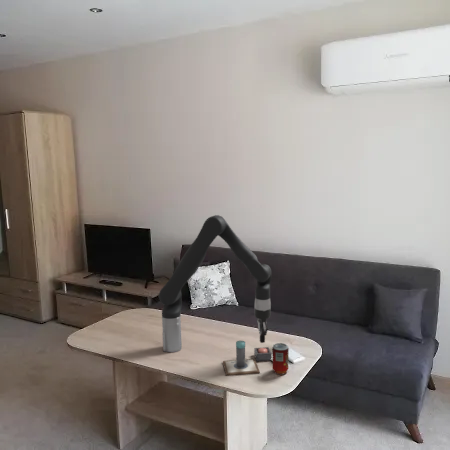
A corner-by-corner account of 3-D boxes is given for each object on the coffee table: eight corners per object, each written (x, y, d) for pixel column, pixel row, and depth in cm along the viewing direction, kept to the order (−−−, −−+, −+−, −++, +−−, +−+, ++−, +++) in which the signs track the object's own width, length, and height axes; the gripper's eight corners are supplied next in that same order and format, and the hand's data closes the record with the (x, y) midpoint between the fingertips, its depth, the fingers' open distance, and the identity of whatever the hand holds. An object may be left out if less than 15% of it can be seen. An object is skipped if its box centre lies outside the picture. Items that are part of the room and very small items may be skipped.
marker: (236, 367, 201) (236, 344, 200) (235, 363, 205) (235, 340, 204) (246, 367, 202) (245, 344, 200) (244, 363, 206) (244, 340, 204)
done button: (259, 357, 211) (259, 352, 211) (257, 353, 215) (257, 348, 215) (268, 356, 212) (268, 351, 211) (266, 352, 216) (266, 347, 216)
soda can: (289, 375, 196) (289, 348, 194) (272, 375, 196) (272, 348, 194) (287, 367, 203) (287, 342, 201) (272, 367, 203) (272, 342, 201)
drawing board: (226, 375, 196) (226, 373, 196) (222, 362, 209) (222, 360, 209) (259, 373, 198) (259, 371, 198) (254, 360, 211) (254, 358, 211)
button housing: (257, 361, 210) (256, 354, 209) (254, 354, 217) (254, 348, 216) (271, 360, 211) (271, 353, 210) (268, 353, 218) (268, 347, 217)
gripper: (252, 302, 216) (252, 337, 219) (257, 312, 203) (257, 348, 206) (267, 302, 217) (267, 336, 220) (273, 311, 204) (273, 347, 207)
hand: (262, 342), depth 213 cm, fingers closed
